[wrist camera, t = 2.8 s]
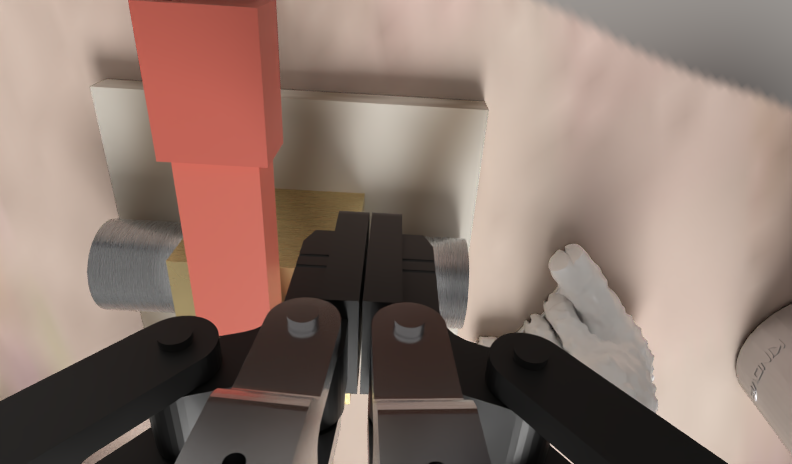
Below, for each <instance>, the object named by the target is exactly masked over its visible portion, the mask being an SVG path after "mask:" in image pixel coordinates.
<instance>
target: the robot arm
mask: <svg viewBox="0 0 792 464" xmlns="http://www.w3.org/2000/svg"><path fill="white" fill-rule="evenodd" d="M369 226H370V212H354V211H339V214H338V218H337V223H336V227H335V231H329V230H315V231H314V232H313V233H312V234H311V235H309V236H308V237H307V238H306V239H305V240H304V241H303V244H302V247H301V250H300V253H299V256H298V259H297V262H296V267H295V269H294V272H293V275H292V278H291V281H290V284H289V287H288V291H287V294H286V297H285V300H284V302H282V303H280V304H278V305H276V306H275V307H273V308H272V309H271V310H270V311H269V312H268V314H267V315H266V317H265V319H264V321H263V324H262V326H260V327H258V328H256V329H252V330H249V331H245V332H240V333H234V334H228V335H222V336H219V332H218V329H217V327H216V326H215V325H214V324H213V323H212V322H211V321H209V320H207V319H205V318H202V317H197V316H176V317H171V318H167V319H164V320H161V321H159V322H156V323H154V324H152V325H150V326H148V327H146V328H144V329H142V330H140V331H138V332H136V333H134V334H132V335H130V336H128V337H126V338H124V339H123V340H121V341H119V342H117V343H115V344H113V345H111V346H109V347H107V348H105V349H103V350H101V351H99V352H97V353H95V354H93V355H91V356H89V357H87V358H85V359H83V360H81V361H79V362H77V363H75V364H73V365H71V366H69V367H67V368H65V369H63V370H61V371H59V372H57V373H55V374H53V375H51V376H49V377H47V378H45V379H43V380H41V381H39V382H37V383H35V384H33V385H31V386H29V387H27V388H25V389H23V390H21V391H20V392H18V393H16V394H14V395H12V396H10V397H8V398H6V399H4V400H2V401H0V464H81V463H82V462H83V461H84V460H85V459H87V458H88V457H89V456H90V455H92V454H93V453H95V452H96V451H98V450H99V449H101V448H103V447H104V446H106V445H107V444H109V443H111V442H112V441H114V440H115V439H117V438H118V437H120V436H122V435H123V434H125V433H126V432H128V431H130V430H131V429H133V428H134V427H136V426H137V425H139V424H141V423H142V422H144V421H145V420H147V419H148V418H149V419H150V423H151V428H149V429H148V430H146V431H145V432H143V433H141V434H140V435H138V436H137V437H135V438H134V439H132V440H131V441H129V442H128V443H126V444H124V445H123V446H121V447H120V448H118V449H117V450H115V451H114V452H112V453H111V454H109V455H107V456H106V457H104V458H103V459H101V460H100V461H98V462H97V463H95V464H333V459H334V455H335V450H336V446H337V441H338V436H339V432H340V426H341V415H342V413H343V409H344V403H345V395H346V393H348V394H357V386H358V376H359V366H360V356H361V380H360V394H369V397H368V423H367V440H368V464H571V463H570V462H569V461H568V460H566V459H565V458H564V457H563V456H562V455H561V454H559V453H558V452H557V451H556V450H555V449H554V448H552V447H551V446H550V443H551V444H552V445H553V446H554V447H555V448H556V449H558V450H559V451H560V452H561V453H562V454H563V455H565V456H566V457H567V458H568V459H569V460H570V461H572V462H573V463H574V464H728V463H726V462H725V461H724V460H722V459H721V458H719V457H718V456H716V455H715V454H713V453H712V452H711V451H709V450H708V449H706V448H705V447H703V446H702V445H700V444H699V443H697V442H696V441H695V440H693V439H692V438H690V437H689V436H687V435H686V434H684V433H683V432H682V431H680V430H679V429H677V428H676V427H674V426H673V425H671V424H670V423H669V422H667V421H666V420H664V419H663V418H661V417H660V416H658V415H657V414H656V413H654V412H653V411H651V410H650V409H648V408H647V407H645V406H644V405H643V404H641V403H640V402H638V401H637V400H635V399H634V398H632V397H631V396H630V395H628V394H627V393H625V392H624V391H622V390H621V389H619V388H618V387H617V386H615V385H614V384H612V383H611V382H609V381H608V380H606V379H605V378H603V377H602V376H601V375H599V374H598V373H596V372H595V371H593V370H592V369H590V368H589V367H588V366H586V365H585V364H583V363H582V362H580V361H579V360H577V359H576V358H575V357H573V356H572V355H570V354H569V353H567V352H566V351H564V350H563V349H562V348H560V347H559V346H557V345H556V344H554V343H553V342H551V341H549V340H547V339H545V338H543V337H540V336H537V335H533V334H529V333H510V334H506V335H503V336H501V337H499V338H497V339H496V340H495V341H494V342H493V343H492V345H491V347H486V346H483V345H479V344H476V343H473V342H470V341H467V340H464V339H462V338H460V337H459V336H457V335H455V334H454V333H453V332H451V331H450V330H449V329H448V328H447V325H446V323H445V320H444V319H443V317H442V316H441V315H440V309H439V300H438V290H437V280H436V274H435V273H436V270H435V263H434V261H435V260H434V250H433V246H432V245H431V244H430V243H429V242H428V240H427V239H426V238H425V237H424V236H423V235H408V234H402V214H394V213H375V212H372V218H371V228H370V237H369ZM361 345H362V346H361ZM736 374H737V378H738V381H739V384H740V385H741V387H742V388H743V390H744V391H745V392H746V394H747V395H748V397H749V398H750V399H751V401H752V402H753V403H754V405H755V406H756V407H757V409H758V410H759V412H760V413H761V414H762V416H763V417H764V418H765V420H766V421H767V422H768V424H769V425H770V426H771V428H772V429H773V431H774V432H775V433H776V435H777V436H778V438H779V439H780V441H781V442H782V443H783V445H784V446H785V447H786V449H787V450H788V451H789V453H790V454H791V455H792V304H790V305H788V306H786V307H784V308H783V309H781V310H779V311H777V312H776V313H774V314H773V315H771V316H770V317H769V318H767V319H766V320H765V321H764V322H762V323H761V324H760V325H759V326H758V327H757V328H756V329H755V330H754V331H753V332H752V333H751V334H750V336H749V337H748V338H747V340H746V341H745V343H744V345H743V346H742V348H741V350H740V353H739V356H738V359H737V364H736Z"/></svg>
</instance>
